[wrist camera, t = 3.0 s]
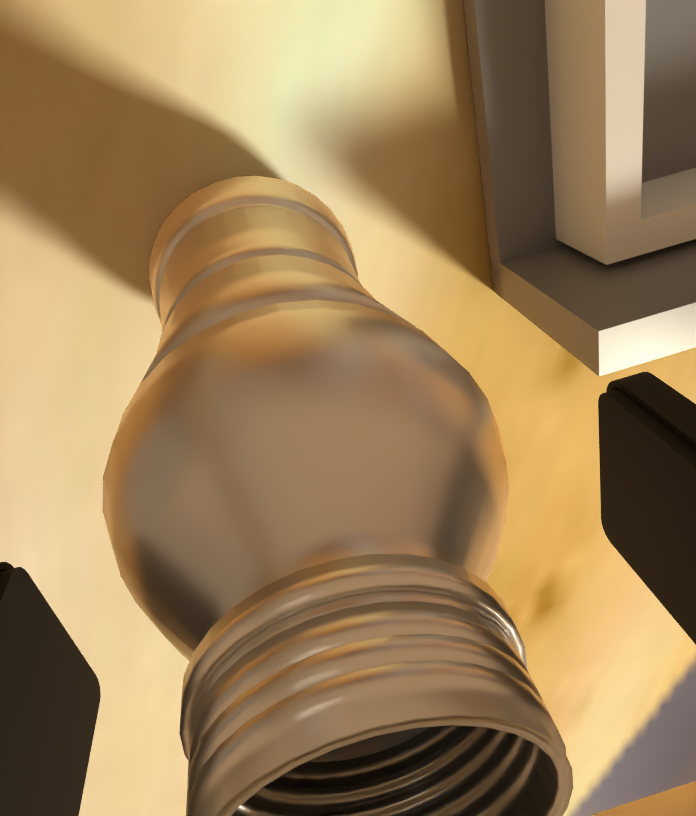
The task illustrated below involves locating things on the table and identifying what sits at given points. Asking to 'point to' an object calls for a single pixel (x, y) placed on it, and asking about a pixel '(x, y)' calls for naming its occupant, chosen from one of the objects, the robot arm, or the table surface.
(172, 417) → the plastic bottle
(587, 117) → the housing
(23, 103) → the table surface
